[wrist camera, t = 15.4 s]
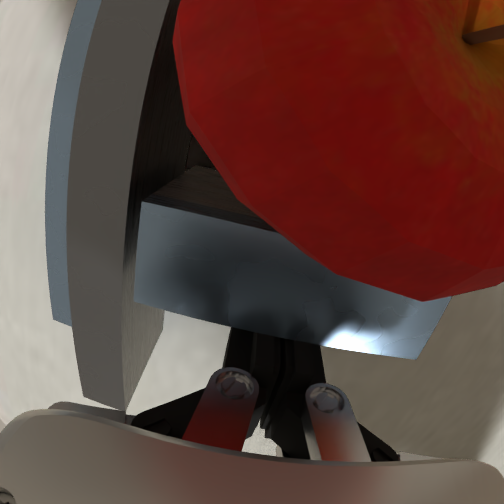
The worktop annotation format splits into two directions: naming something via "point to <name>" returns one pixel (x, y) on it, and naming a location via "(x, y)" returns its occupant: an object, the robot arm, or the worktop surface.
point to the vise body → (110, 182)
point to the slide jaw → (262, 276)
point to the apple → (358, 130)
